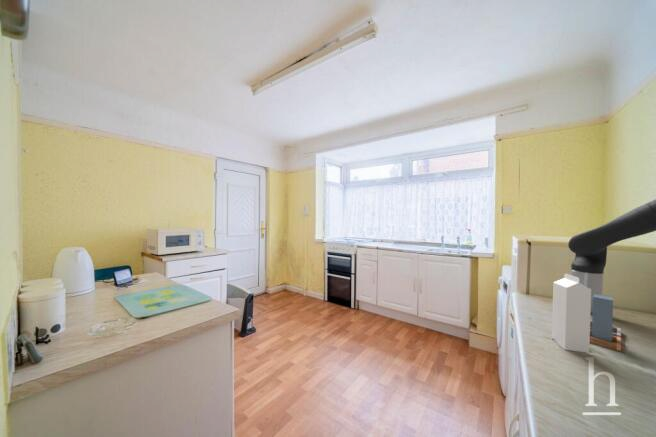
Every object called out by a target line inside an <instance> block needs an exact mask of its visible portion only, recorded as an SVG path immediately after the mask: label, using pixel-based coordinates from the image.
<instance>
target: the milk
mask: <svg viewBox="0 0 656 437" xmlns="http://www.w3.org/2000/svg"><path fill="white" fill-rule="evenodd" d="M552 289H553V290H552V317H551V320H552V321H551V341H553V342H554V343H556V345H558V346H559V347H561V348H562V349H563V350H564V351H573V352H580V353H590V343H589V342H590V321H591V313H590V311H591V289H589V288H588V287H586V286H584V285H582V284H580V283H579V278H578V277H575V276H572V275H571V274H569V273H564V274H563V278H561V279H558V280H555V281H553V286H552Z"/></svg>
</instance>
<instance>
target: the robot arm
mask: <svg viewBox="0 0 656 437" xmlns="http://www.w3.org/2000/svg"><path fill="white" fill-rule="evenodd" d="M653 232H656V199H654V200H651V201H649V202H646V203H645V204H642V205H640V206H638V207H636V208H634V209H631V210H630V211H628V212H625V213H624V214H622V215H619V216H618V217H616V218H614V219H612V220H610V221H608V222H607V223H605V224H602V225H600V226H598V227H595V228H593V229H590V230H587V231H583V232H581V233H578V234H575V235H574V236H572V237H571V238H570V239H569V241H568V244H567V245H568V248H569V250H570V252H572V253H574V254H575V256H574V259H573V261H572V263H571V266H570V269H571V270H570V275H572V276H575V277H578V278H579V283H580V284H582V285H584V286H586V287H588V288H589V289H591V311H590V315H591V314H592V315H593V296H594V294H596V295H601V296H604V272H605V271H604V270H605V268H606V265H607V255H608V247H609V246H611V245H613V244H616V243H618V242H621V241H624V240H628V239H632V238H635V237H636V238H637V237H639V236H643V235H646V234H650V233H653Z"/></svg>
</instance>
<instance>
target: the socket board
mask: <svg viewBox="0 0 656 437" xmlns="http://www.w3.org/2000/svg"><path fill="white" fill-rule="evenodd" d="M589 344H592V345H594V346H595V345H596V346H598V347H601V348H604V349H605V348H606V349H609V350H612V351H616V352H619V353H622V354H625V350H626V349H625V333H624V332H622V329H621V328H620V327H616V326H612V343H611V342H608V341H604V340H600V339H597V338H593V337H592V321H591V320H590V342H589Z"/></svg>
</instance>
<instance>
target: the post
mask: <svg viewBox="0 0 656 437" xmlns="http://www.w3.org/2000/svg"><path fill="white" fill-rule="evenodd" d="M613 313H614V297H611V296H605V295H603V296H601V295H596V294H594V296H593V314H592V317H591V318H592V337H593V338H597V339H600V340H604V341H608V342H611V343H612V327H613V315H614V314H613Z"/></svg>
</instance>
